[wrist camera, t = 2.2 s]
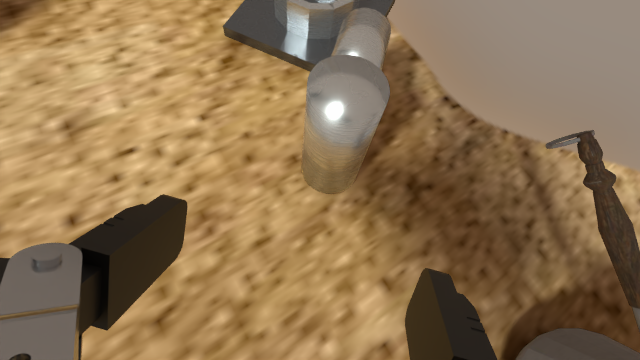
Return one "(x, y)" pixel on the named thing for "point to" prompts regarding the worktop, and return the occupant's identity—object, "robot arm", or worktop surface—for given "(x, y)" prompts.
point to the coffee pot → (620, 240)
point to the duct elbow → (345, 102)
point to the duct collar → (295, 26)
